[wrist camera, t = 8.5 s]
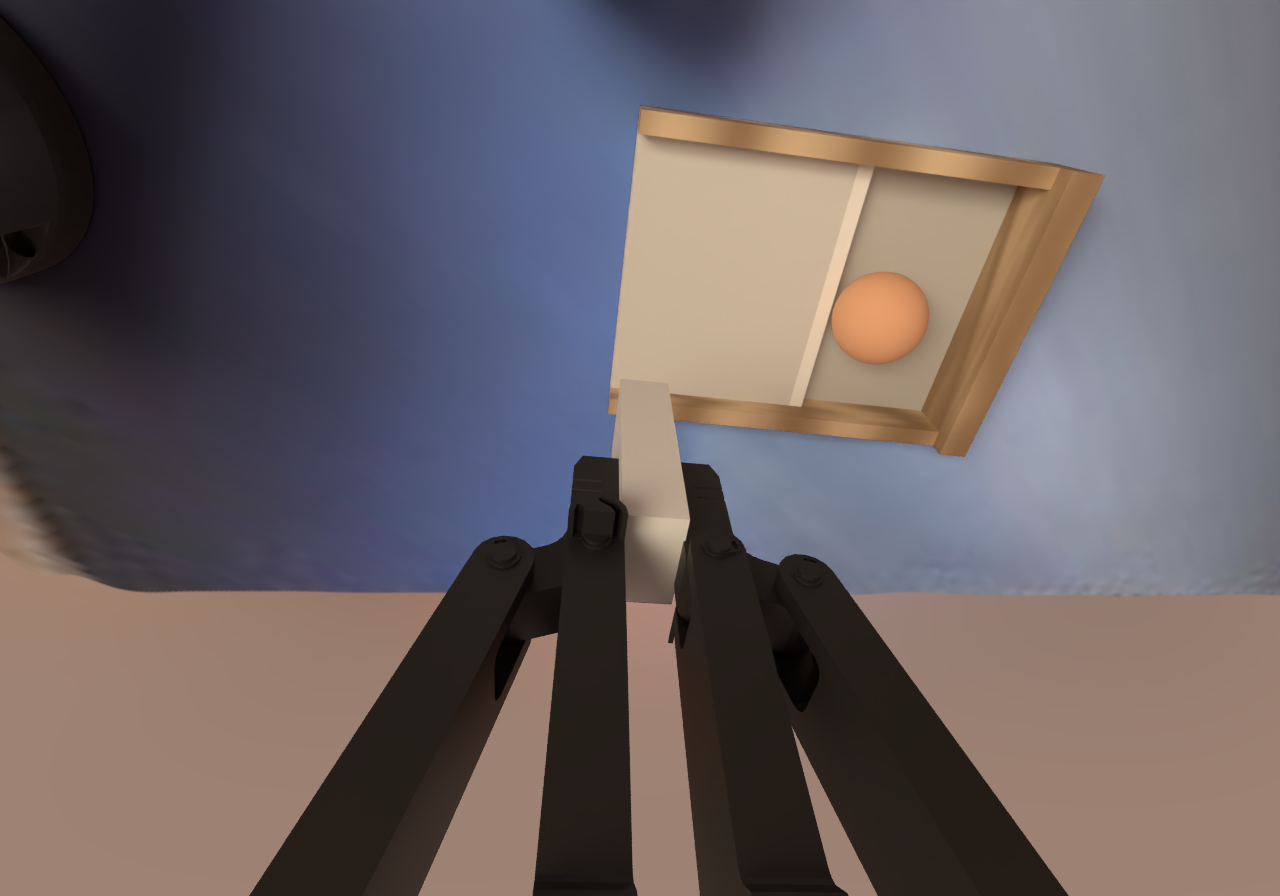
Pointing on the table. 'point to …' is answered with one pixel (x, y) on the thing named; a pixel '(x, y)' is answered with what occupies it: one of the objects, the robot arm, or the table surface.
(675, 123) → the lane frame
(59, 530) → the table surface
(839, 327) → the ball
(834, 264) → the mat
